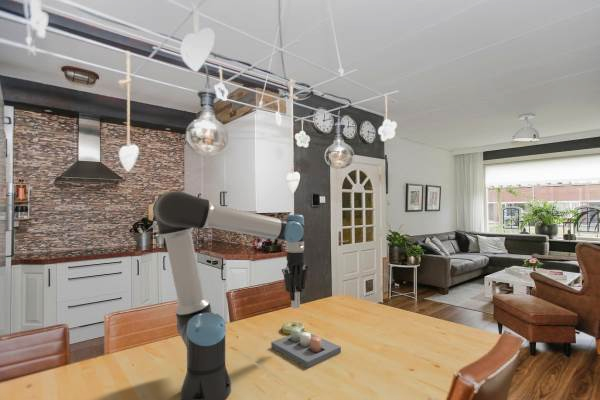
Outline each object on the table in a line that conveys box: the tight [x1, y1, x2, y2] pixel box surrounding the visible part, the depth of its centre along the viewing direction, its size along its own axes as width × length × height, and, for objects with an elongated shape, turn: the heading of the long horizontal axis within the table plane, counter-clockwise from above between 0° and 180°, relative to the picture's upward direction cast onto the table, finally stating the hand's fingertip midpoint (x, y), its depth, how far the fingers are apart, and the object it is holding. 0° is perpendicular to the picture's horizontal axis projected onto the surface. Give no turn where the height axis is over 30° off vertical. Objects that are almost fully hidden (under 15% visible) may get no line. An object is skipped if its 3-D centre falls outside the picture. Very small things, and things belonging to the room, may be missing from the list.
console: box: [271, 329, 342, 369], centre depth 125 cm, size 18×22×3 cm
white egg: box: [300, 331, 312, 347], centre depth 125 cm, size 4×4×4 cm
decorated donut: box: [281, 321, 306, 336], centre depth 145 cm, size 10×11×4 cm
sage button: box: [291, 328, 301, 342], centre depth 130 cm, size 4×4×4 cm
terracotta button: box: [310, 336, 322, 352], centre depth 121 cm, size 4×4×4 cm
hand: (295, 307), depth 130 cm, fingers closed
